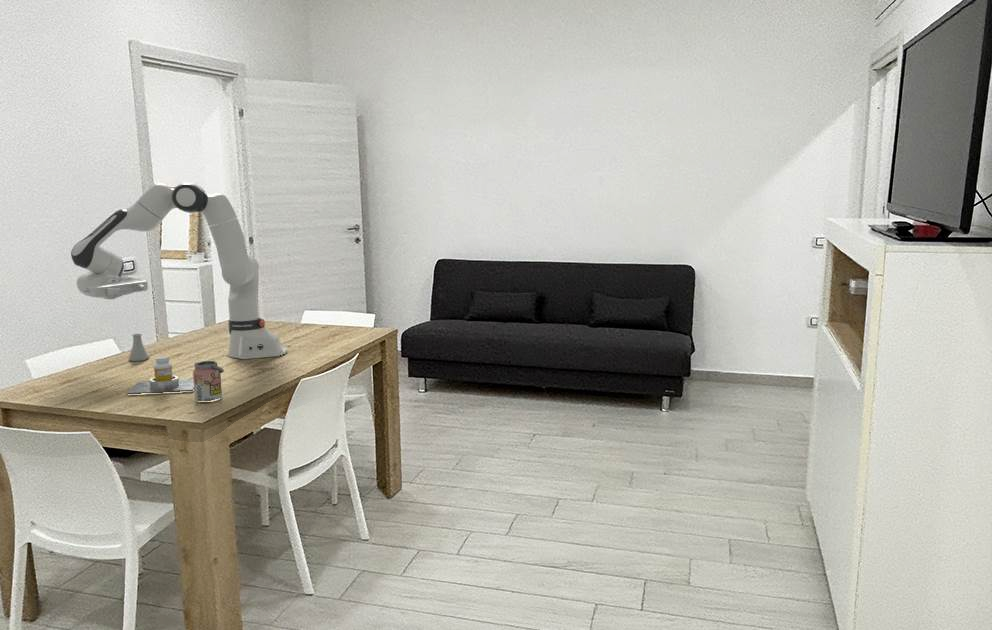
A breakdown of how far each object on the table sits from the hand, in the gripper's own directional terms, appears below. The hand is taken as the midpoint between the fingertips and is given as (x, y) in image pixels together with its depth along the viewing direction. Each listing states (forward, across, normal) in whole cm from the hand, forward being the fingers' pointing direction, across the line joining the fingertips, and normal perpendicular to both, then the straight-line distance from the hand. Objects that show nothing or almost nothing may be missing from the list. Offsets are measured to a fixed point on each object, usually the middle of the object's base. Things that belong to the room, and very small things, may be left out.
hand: (131, 290), depth 282 cm
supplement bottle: (+29, -9, +29) cm, 42 cm away
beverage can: (+53, -9, +30) cm, 61 cm away
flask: (-18, +12, +30) cm, 37 cm away
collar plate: (+29, -9, +30) cm, 42 cm away
